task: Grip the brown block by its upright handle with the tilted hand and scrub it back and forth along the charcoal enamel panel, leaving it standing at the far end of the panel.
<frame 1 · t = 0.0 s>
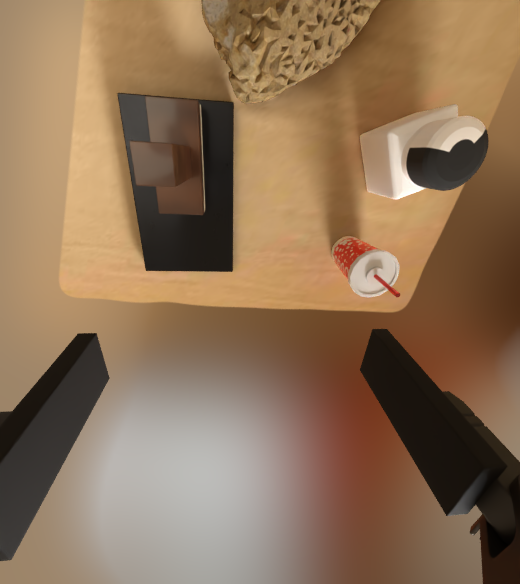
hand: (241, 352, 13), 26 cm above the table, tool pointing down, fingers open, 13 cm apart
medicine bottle: (388, 154, 34), on the table
panel: (186, 195, 34), on the table
brown block: (181, 160, 31), point 1 cm above the table, touching panel
beverage cup: (345, 250, 40), on the table
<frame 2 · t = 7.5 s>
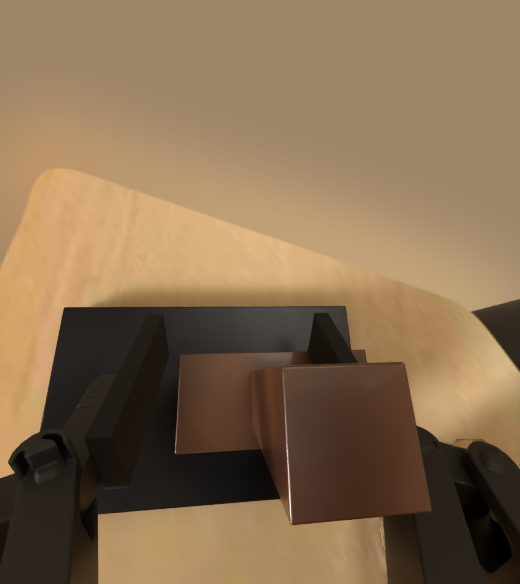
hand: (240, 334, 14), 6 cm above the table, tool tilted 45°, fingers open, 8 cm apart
panel: (212, 394, 19), on the table
brown block: (270, 393, 18), point 1 cm above the table, touching panel
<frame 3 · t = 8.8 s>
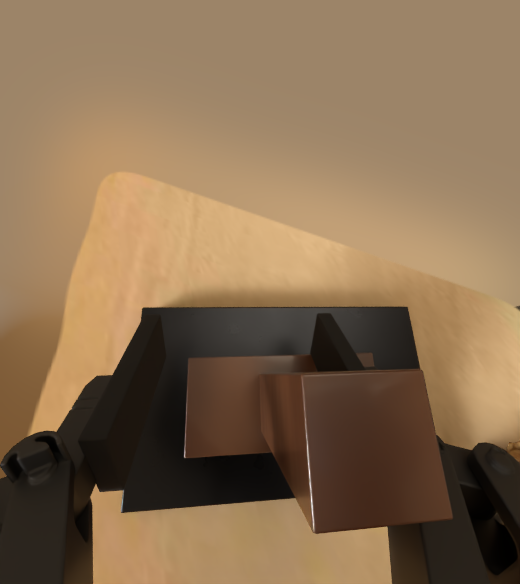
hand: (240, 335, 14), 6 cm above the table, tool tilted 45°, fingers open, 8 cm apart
panel: (283, 391, 19), on the table
brown block: (277, 396, 18), point 2 cm above the table, touching gripper, panel
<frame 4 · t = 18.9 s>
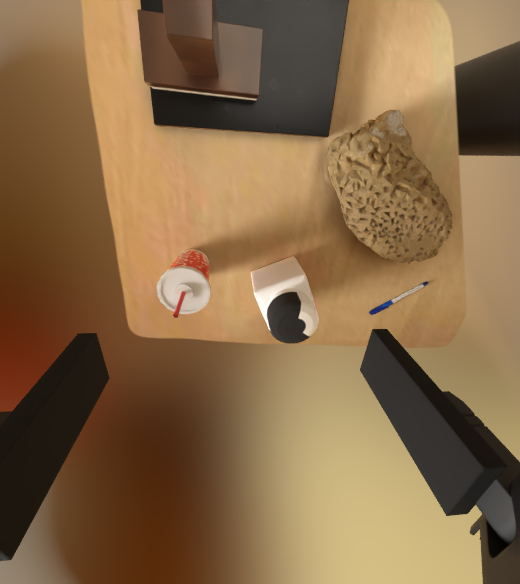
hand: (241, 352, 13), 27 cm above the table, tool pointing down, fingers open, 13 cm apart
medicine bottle: (278, 282, 42), on the table
panel: (245, 67, 29), on the table
ballpoint pen: (396, 296, 45), on the table
brown block: (205, 65, 27), point 1 cm above the table, touching panel
sponge: (379, 197, 37), on the table
beverage cup: (193, 263, 39), on the table
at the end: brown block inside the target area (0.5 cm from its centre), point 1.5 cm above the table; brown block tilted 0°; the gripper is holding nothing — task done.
